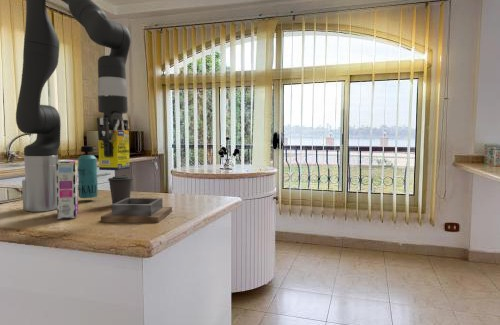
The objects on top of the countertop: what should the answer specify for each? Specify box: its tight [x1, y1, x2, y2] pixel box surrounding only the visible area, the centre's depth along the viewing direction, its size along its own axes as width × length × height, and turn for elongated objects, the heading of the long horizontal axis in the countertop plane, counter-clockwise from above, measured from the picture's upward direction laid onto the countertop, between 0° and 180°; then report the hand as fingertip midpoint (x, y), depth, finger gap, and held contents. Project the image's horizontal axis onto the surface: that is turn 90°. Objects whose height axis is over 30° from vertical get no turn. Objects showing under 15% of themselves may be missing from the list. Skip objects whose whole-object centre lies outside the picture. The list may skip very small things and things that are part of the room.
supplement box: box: [97, 130, 130, 171], centre depth 96 cm, size 6×6×11 cm
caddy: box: [100, 197, 173, 224], centre depth 101 cm, size 16×14×4 cm
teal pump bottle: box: [77, 145, 99, 199], centre depth 125 cm, size 6×7×20 cm
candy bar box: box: [56, 159, 79, 220], centre depth 102 cm, size 11×5×16 cm, turn 23°
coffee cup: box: [107, 174, 134, 205], centre depth 117 cm, size 8×8×10 cm
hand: (114, 155), depth 96 cm, fingers closed on supplement box, 6 cm apart
